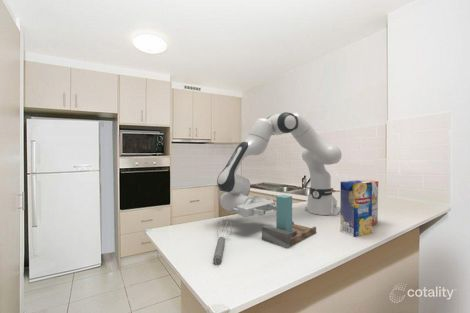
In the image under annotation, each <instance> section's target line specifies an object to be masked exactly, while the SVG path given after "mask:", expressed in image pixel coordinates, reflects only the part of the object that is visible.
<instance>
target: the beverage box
mask: <svg viewBox="0 0 470 313" xmlns="http://www.w3.org/2000/svg"><path fill="white" fill-rule="evenodd" d="M340 208H341V211H340V233H342V234H343V233H344V234H345V235H348V236H351V237H354V238H357V237H360V236H364V235H371V234H372V233H373V225H372V182H367V181H365V180H358V179H356V180H346V181H340Z"/></svg>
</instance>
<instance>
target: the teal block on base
mask: <svg viewBox="0 0 470 313" xmlns="http://www.w3.org/2000/svg"><path fill="white" fill-rule="evenodd" d="M275 199H276V201H275V204H276V205H275V206H276V211H275V212H276V215H275V216H276V217H275V218H276V222H275V223H276V226H275V228H278V229H281V230H285V231H288V232H292V237H293V236H295V235H297V231H295V230H292V221H293V195H287V194H281V195H277V196H276V197H275Z"/></svg>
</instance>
